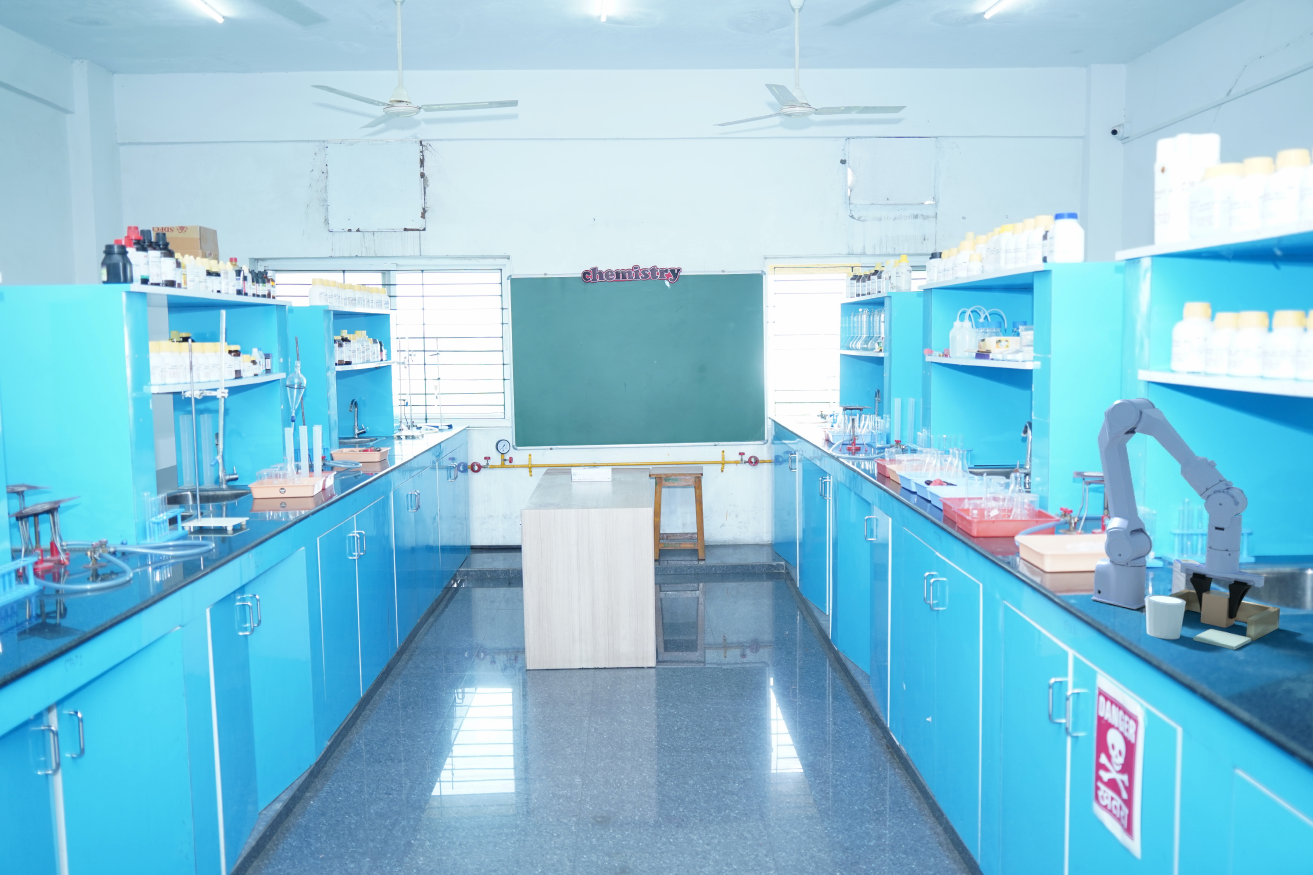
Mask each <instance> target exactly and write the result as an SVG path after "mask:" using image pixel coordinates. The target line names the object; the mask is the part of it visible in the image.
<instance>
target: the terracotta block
mask: <svg viewBox="0 0 1313 875" xmlns="http://www.w3.org/2000/svg"><path fill="white" fill-rule="evenodd" d="M1229 603H1230V598H1229V592H1227V591H1221V590H1215V589H1210V591H1207V592H1204V593H1203V597H1202V611H1201V614H1200V616H1201V617H1200V623H1203V624H1207V625H1211V626H1215V627H1220V628H1225V629H1226V628H1229V627H1231V626H1232V625H1235V622H1236V620H1235V618H1233V619H1230V618H1229V617H1228V611H1229Z"/></svg>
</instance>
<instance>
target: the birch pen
mask: <svg viewBox="0 0 1313 875" xmlns="http://www.w3.org/2000/svg"><path fill="white" fill-rule="evenodd" d="M1168 596H1171V597H1176V598H1179V599H1182V600H1184V601H1186V604H1185V610H1184V612H1186V611H1192V612H1196V613H1201V612H1200V605H1199V601H1198V597H1197V594H1196V592H1195V591H1193V590H1188V589H1184V590H1182V591H1179V592H1176V593H1174V594H1172V593H1171V594H1169V595H1168ZM1280 613H1281V607H1276V606H1272V605H1267V604H1261V603H1256V602H1252V601H1246V600H1242V602H1241V604H1240V606H1239V609H1238V612H1237V615H1236V617H1235V621H1238V622H1242V623H1247V624H1246V636H1245V637H1249V638H1251V641H1250V642H1254V641H1256V640H1258V639H1259V638H1262V637H1264V636H1266V635H1267V634H1270V633H1271V632H1274V631H1275V630H1277V629H1279V627H1280V625H1279V624H1280Z"/></svg>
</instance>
